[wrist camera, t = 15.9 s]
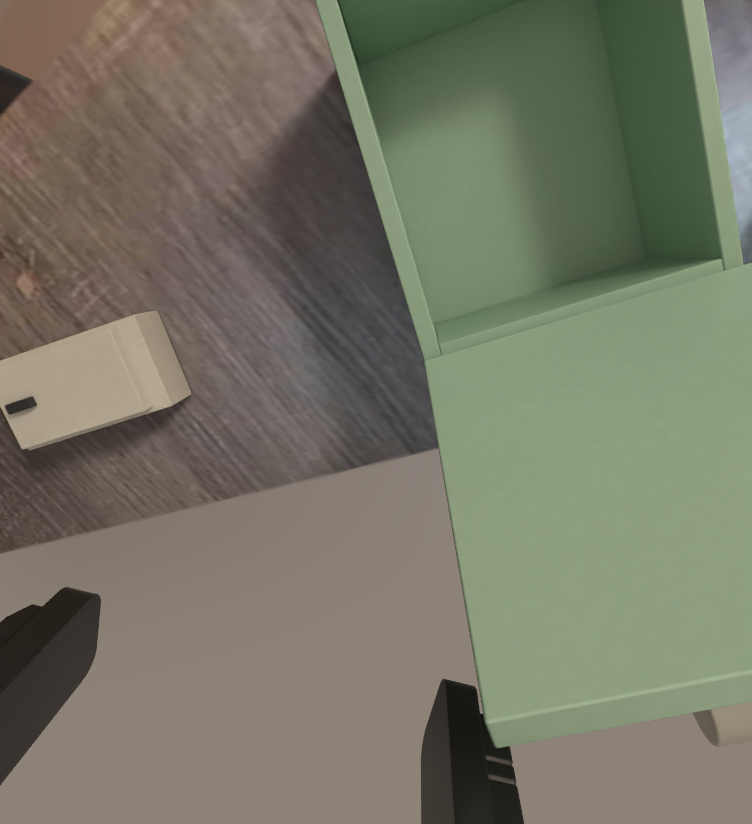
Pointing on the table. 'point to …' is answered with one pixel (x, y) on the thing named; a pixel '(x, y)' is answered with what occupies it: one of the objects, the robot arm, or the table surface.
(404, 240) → the box
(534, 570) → the lid
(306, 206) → the table surface
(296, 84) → the table surface
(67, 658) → the robot arm
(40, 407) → the white power adapter
